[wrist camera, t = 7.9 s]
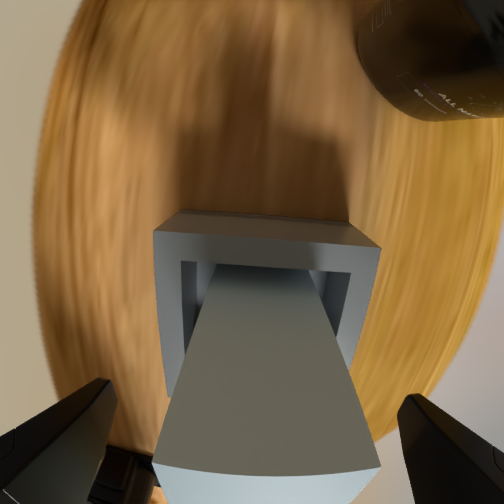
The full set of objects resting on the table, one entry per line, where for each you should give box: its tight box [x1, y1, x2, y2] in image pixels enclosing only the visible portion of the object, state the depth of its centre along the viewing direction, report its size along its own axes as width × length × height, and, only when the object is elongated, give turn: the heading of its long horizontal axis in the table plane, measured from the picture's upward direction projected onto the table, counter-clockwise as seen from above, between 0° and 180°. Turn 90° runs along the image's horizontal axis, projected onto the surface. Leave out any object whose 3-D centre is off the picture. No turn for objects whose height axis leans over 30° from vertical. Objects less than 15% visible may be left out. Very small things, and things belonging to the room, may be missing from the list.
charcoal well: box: [153, 210, 381, 397], centre depth 13 cm, size 8×8×4 cm
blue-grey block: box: [152, 263, 381, 504], centre depth 9 cm, size 4×4×10 cm
